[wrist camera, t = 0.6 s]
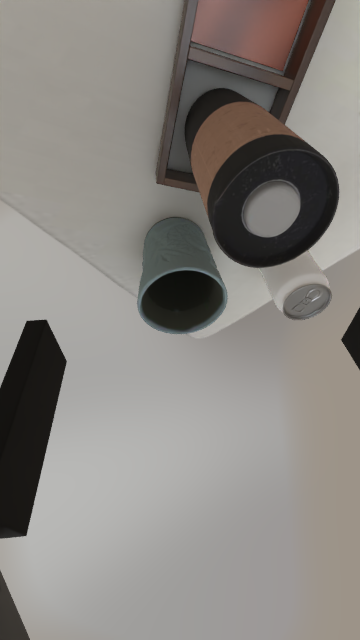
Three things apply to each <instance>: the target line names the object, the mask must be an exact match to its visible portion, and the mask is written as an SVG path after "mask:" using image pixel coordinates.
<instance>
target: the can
mask: <svg viewBox="0 0 360 640" xmlns="http://www.w3.org/2000/svg"><path fill="white" fill-rule="evenodd" d="M259 270H260V272H261V274H262V276H263V279H264V281H265V283H266V285H267V287H268V289H269V291H270V294H271V296H272V298H273V300H274V302H275V304H276V306H277V307H278V309H279V310H281V311H282V312H283V313H284V315H285V316H286V317H288V318H290V319H292V320H305V319H309V318H311V317H314V316H316V315H317V314H319V313H321V312H322V311H323V310H324V309H325V308H326V307H327V306H328V305H329V303H330V301H331V298H332V294H331V291H330V289H329V282H328V280H327V278H326V277H325V275H324V273H323V272H322V271H321V269H320V268H319V266H318V265H317V263H316V262H315V260H314V259H313V258H312V256H311V255H310V253H309V252H308V251H306V252H304V253H303V254H302V255H300V256H298V257H297V258H295V259H293V260H291V261H289V262H286V263H283V264H281V265H277V266H273V267H266V268H259Z"/></svg>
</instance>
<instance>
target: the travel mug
mask: <svg viewBox="0 0 360 640" xmlns="http://www.w3.org/2000/svg"><path fill="white" fill-rule="evenodd" d="M185 140H186V145H187V149H188V154H189V158H190V163H191V167H192V171H193V174H194V177H195V180H196V183H197V186H198V189H199V192H200V195H201V198H202V201H203V203H204V206H205V209H206V212H207V215H208V218H209V221H210V224H211V227H212V230H213V235H214V238H215V240H216V242H217V244H218V246H219V247H220V249H221V250H222V251H223V252H224V253H225V254H226V255H227V256H228V257H229V258H230V259H232V260H233V261H235V262H237V263H239V264H241V265H244V266H248V267H255V268H266V267H273V266H277V265H281V264H283V263H286V262H289V261H291V260H293V259H295V258H297V257H298V256H300V255H302V254H303V253H304V252H306V251H307V250H308V249H310V248H311V247H312V246H313V245H314V244H315V243H316V242H317V241H318V240H319V239H320V238H321V237H322V235H323V234H324V233H325V231H326V230H327V228H328V227H329V225H330V223H331V222H332V220H333V217H334V215H335V212H336V209H337V205H338V200H339V184H338V179H337V176H336V173H335V171H334V169H333V167H332V165H331V164H330V163H329V162H328V160H327V159H326V158H325V157H324V156H323V155H321V154H320V153H319V152H318V151H317V150H315V149H314V148H313V147H311V146H310V145H309V144H308V143H306V142H305V141H304V140H303V139H301V138H300V137H299V136H298V135H296V134H295V133H294V132H293V131H291V130H290V129H289V128H288V127H286V126H285V125H284V124H283V123H281V122H280V121H279V120H278V119H276V118H275V117H274V116H273V115H271V114H270V113H269V112H268V111H266V110H265V109H264V108H262V107H261V106H259V105H257V104H256V103H254V102H252V101H250V100H249V99H247V98H245V97H244V96H242V95H240V94H238V93H237V92H235V91H232V90H229V89H224V88H219V89H214V90H211V91H208V92H206V93H205V94H203V95H202V96H201V97H200V98H198V99H197V101H196V102H195V103H194V104H193V106H192V107H191V109H190V111H189V113H188V116H187V119H186V124H185Z"/></svg>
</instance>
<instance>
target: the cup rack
mask: <svg viewBox="0 0 360 640" xmlns="http://www.w3.org/2000/svg"><path fill="white" fill-rule="evenodd" d="M308 1H309V0H185V1H184V7H183V13H182V19H181V25H180V31H179V37H178V43H177V49H176V55H175V61H174V67H173V73H172V79H171V85H170V91H169V97H168V103H167V109H166V115H165V121H164V127H163V133H162V139H161V145H160V150H159V156H158V162H157V168H156V183H157V184H162V185H163V184H164V185H166V186H171V187H176V188H181V189H185V190H190V191H195V192H199V189H198V186H197V183H196V180H195V177H194V175H193V174H189V173H184V172H180V171H175V170H171V169H167V164H168V158H169V153H170V148H171V143H172V137H173V132H174V127H175V122H176V116H177V111H178V106H179V101H180V95H181V90H182V85H183V80H184V74H185V69H186V64H187V59H189V60H192V61H195V62H199V63H202V64H205V65H208V66H212V67H215V68H218V69H221V70H224V71H228V72H231V73H234V74H237V75H240V76H244V77H247V78H250V79H253V80H256V81H260V82H263V83H266V84H269V85H272V86H276V87H279V90H278V92H277V95H276V98H275V100H274V103H273V106H272V109H271V111H270V114H271V115H273V116H274V117H275V118H276V119H278V120H279V121H280V122H281V123H283V124H285V122H286V120H287V117H288V115H289V112H290V110H291V107H292V105H293V103H294V100H295V98H296V95H297V93H298V90H299V88H300V86H301V83H302V81H303V78H304V76H305V73H306V71H307V69H308V66H309V64H310V61H311V59H312V56H313V54H314V52H315V49H316V47H317V44H318V42H319V39H320V37H321V35H322V32H323V30H324V27H325V25H326V22H327V20H328V17H329V15H330V13H331V10H332V8H333V5H334V3H335V0H312V1H311V4H310V7H309V9H308V12H307V15H306V17H305V20H304V23H303V25H302V28H301V31H300V33H299V36H298V39H297V42H296V44H295V47H294V50H293V52H292V55H291V58H290V60H289V63H288V66H287V68H286V71H285V74H284V76H283V75H279V74H276V73H273V72H270V71H267V70H264V69H261V68H258V67H255V66H252V65H248V64H245V63H242V62H239V61H236V60H233V59H230V58H227V57H224V56H221V55H217V54H214V53H211V52H208V51H205V50H202V49H199V48H196V47H193V46H190V43H191V41H192V42H195V43H198V44H201V45H204V46H207V47H210V48H213V49H216V50H219V51H222V52H225V53H229V54H232V55H235V56H238V57H241V58H244V59H247V60H250V61H253V62H256V63H259V64H262V65H265V66H268V67H271V68H275V69H278V70H281V71H283V69H284V66H285V63H286V61H287V58H288V55H289V53H290V50H291V47H292V44H293V42H294V39H295V36H296V34H297V31H298V28H299V25H300V23H301V20H302V17H303V15H304V12H305V9H306V6H307V4H308Z"/></svg>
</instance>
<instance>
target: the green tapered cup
mask: <svg viewBox="0 0 360 640" xmlns="http://www.w3.org/2000/svg"><path fill="white" fill-rule="evenodd" d="M142 266H143V273H142V276H141V280H140V286H139V294H138V301H137V304H138V310H139V313H140V315H141V317H142V319H143V320H144V321H145V322H146V323H147V324H148V325H150V326H151V327H152V328H154V329H156V330H159V331H162V332H165V333H170V334H187V333H192V332H196V331H199V330H202V329H204V328H205V327H207V326H209V325H211V324H212V323H213V322H215V321H216V319H217V318H218V317H219V316H220V315H221V314H222V313H223V311H224V309H225V307H226V304H227V290H226V287H225V285H224V283H223V281H222V278H221V276H220V274H219V271H218V270H217V269H216V268H217V267H216V264H215V261H214V259H213V256H212V254H211V252H210V249H209V247H208V245H207V242H206V239H205V237H204V234H203V232H202V231H201V229H200V228H199V227H198V226H197V225H196V224H194V223H193V222H192V221H190V220H187V219H184V218H168V219H165V220H162V221H160V222H158V223H157V224H156V225H154V226H153V227H152V228H151V230H150V231H149V232H148V234H147V236H146V239H145V243H144V250H143V263H142Z"/></svg>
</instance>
